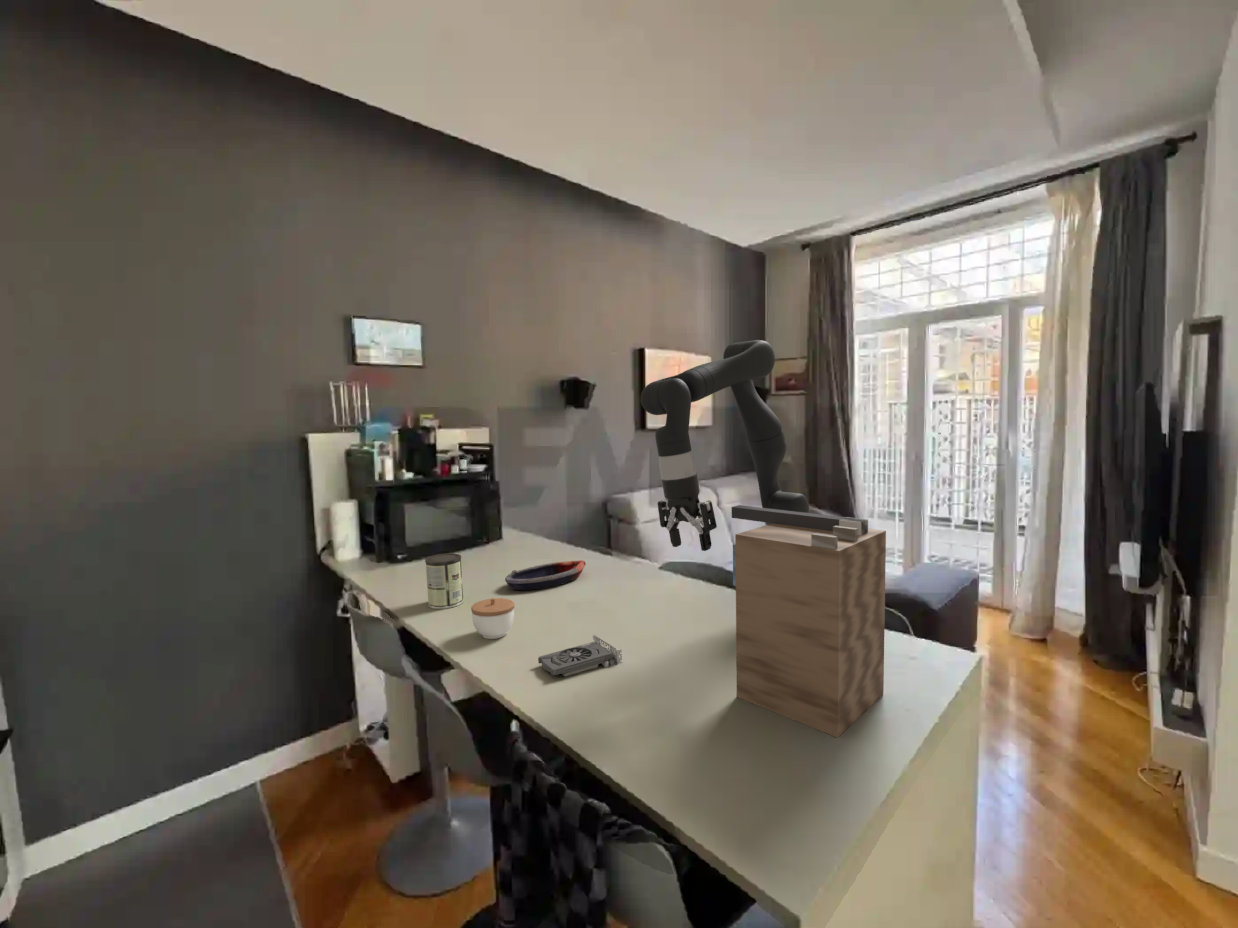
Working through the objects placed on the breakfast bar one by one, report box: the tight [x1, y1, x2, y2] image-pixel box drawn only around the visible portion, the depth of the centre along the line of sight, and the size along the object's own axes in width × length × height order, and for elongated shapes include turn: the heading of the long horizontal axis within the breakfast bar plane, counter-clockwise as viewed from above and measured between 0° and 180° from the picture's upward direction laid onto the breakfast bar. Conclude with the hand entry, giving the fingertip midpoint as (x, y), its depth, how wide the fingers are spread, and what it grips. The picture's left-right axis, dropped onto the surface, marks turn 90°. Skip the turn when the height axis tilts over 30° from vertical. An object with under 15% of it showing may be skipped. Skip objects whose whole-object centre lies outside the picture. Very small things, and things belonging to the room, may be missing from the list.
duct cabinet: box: [732, 523, 887, 739], centre depth 106 cm, size 20×21×34 cm
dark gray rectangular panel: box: [731, 504, 869, 535], centre depth 112 cm, size 3×28×2 cm, turn 44°
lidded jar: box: [470, 597, 515, 640], centre depth 142 cm, size 11×11×9 cm
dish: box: [504, 560, 586, 591], centre depth 186 cm, size 16×31×5 cm, turn 127°
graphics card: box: [537, 634, 623, 677], centre depth 124 cm, size 17×4×12 cm
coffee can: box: [424, 552, 464, 610], centre depth 166 cm, size 10×10×14 cm
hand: (691, 547), depth 119 cm, fingers open, 8 cm apart
